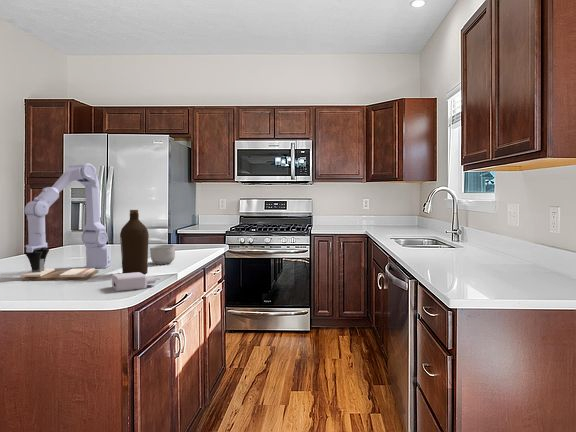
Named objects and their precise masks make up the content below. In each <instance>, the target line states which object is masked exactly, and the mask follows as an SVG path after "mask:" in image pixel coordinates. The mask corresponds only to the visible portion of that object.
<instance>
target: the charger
mask: <svg viewBox="0 0 576 432" xmlns="http://www.w3.org/2000/svg"><path fill="white" fill-rule="evenodd" d="M157 280H161V277H155V276H154V275H146V274H142V273H140V272H135V273H115V274H112V275H111V286H112V287H111V288H113V289H114V290H115V291H117V292H125V290H128V291H135V290H134V289H137V290H143V289H144V290H145V289H146V288H147V287H148V285H150V284H155V283H156V281H157Z"/></svg>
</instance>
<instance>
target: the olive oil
mask: <svg viewBox="0 0 576 432" xmlns="http://www.w3.org/2000/svg"><path fill="white" fill-rule="evenodd" d="M139 217H140V216H139V209H130V210H129V220H128V221H127V222H126V224H124V225H123V226H122V228H121V229H120V234H119V241H120V251H121V252H120V253H121V269H122V270H121V271H122V272H121V274H123V273H135V272H140V273H142V274H144V275H146V274H148V268H149V267H148V263H149V261H148V260H149V258H148V257H149V230H148V228H147V227H146V225H145V224H143V222H141V220H140V219H139Z"/></svg>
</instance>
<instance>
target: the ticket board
mask: <svg viewBox="0 0 576 432" xmlns="http://www.w3.org/2000/svg"><path fill="white" fill-rule="evenodd" d="M67 270H68V269H66V270H64V269H63V270H61V269H60V270H54V271H52V272H50V273H47V274H45V275H43V276H41V277H22V281H23V282H28V281H29V282H33V281H35V282H36V281H38V282H39V281H40V282H41V280H42V282H43V280H45V281H83V280H84V281H87V280H88V279H90V278H92V277H94V276H95V275H97V274H98V273H99V269H95V271H93V272H91V273H89V274H88V275H86V276H84V277H59V274H62V273H63V272H65V271H67Z"/></svg>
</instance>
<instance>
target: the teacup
mask: <svg viewBox="0 0 576 432" xmlns="http://www.w3.org/2000/svg"><path fill="white" fill-rule="evenodd" d="M175 246H176V245H175V244H158V245H152V246H150V247H149V253H150V259H151V261H152V262H153V263H154V264H156V265H168V264H171V263H172V262H173V261H174V260H175V258H176V252H175V251H176V250H175Z"/></svg>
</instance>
